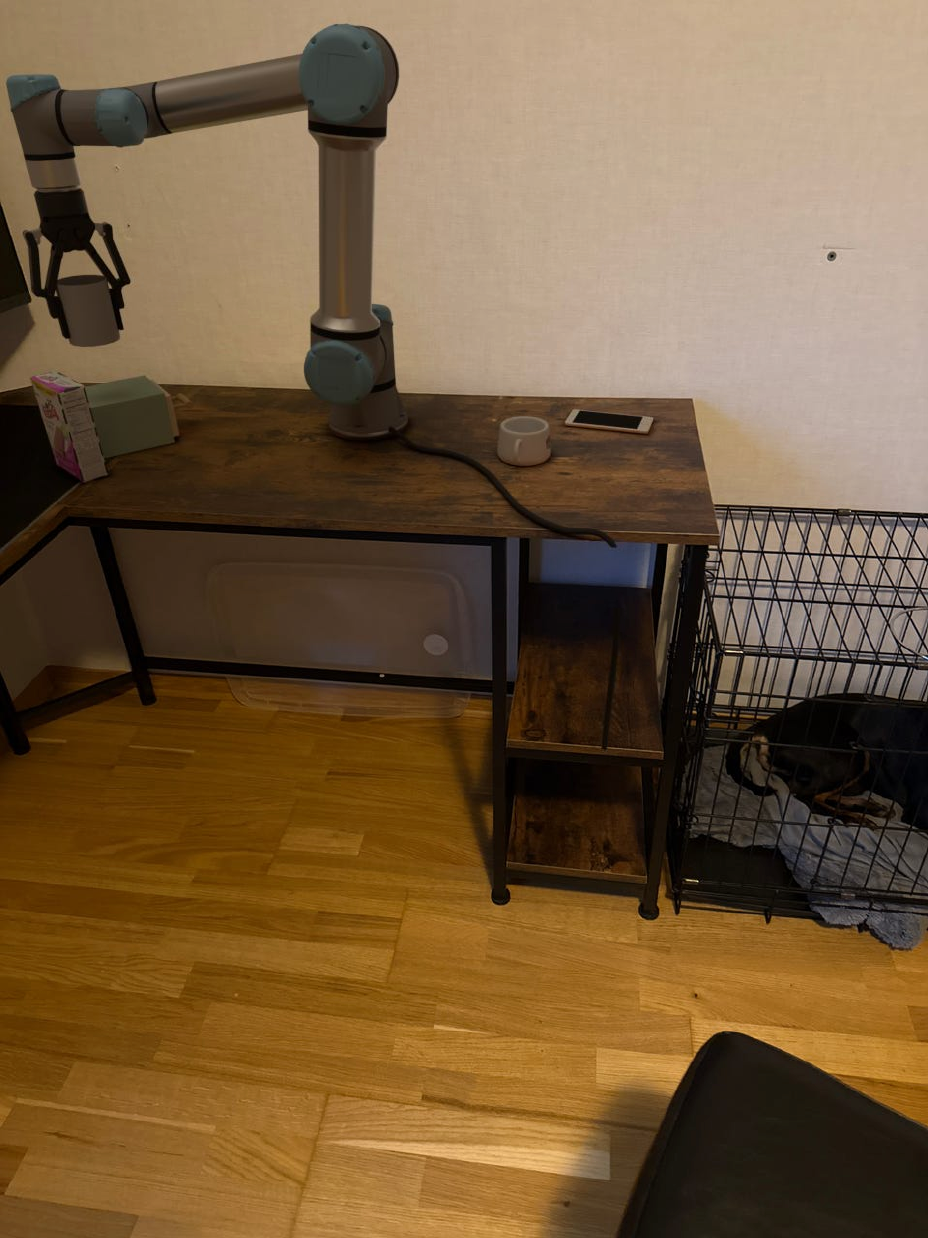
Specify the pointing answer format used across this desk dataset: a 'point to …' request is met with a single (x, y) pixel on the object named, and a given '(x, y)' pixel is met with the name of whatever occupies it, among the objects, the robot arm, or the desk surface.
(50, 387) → the candy bar box
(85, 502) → the desk surface
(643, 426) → the cell phone
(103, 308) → the cup
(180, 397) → the drawer
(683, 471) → the desk surface
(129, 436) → the cabinet
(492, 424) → the desk surface
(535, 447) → the mug
